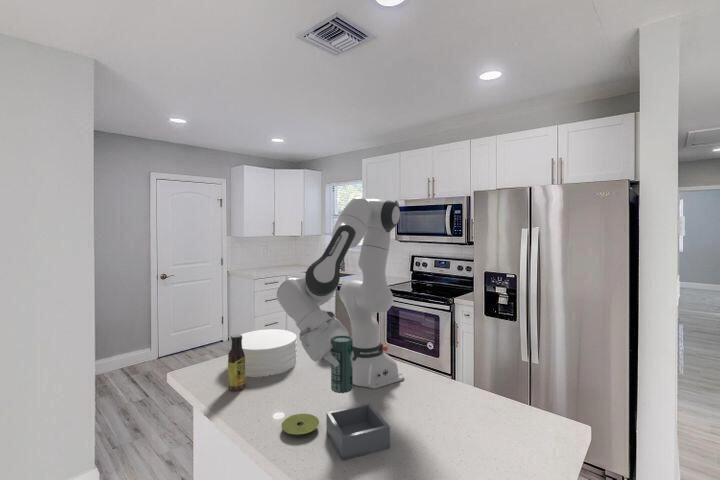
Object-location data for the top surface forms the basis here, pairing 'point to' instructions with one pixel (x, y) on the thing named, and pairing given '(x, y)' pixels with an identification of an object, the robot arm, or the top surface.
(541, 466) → the top surface
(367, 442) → the bin
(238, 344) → the sauce bottle
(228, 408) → the top surface
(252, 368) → the plate stack
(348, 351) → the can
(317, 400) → the top surface
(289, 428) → the mat
